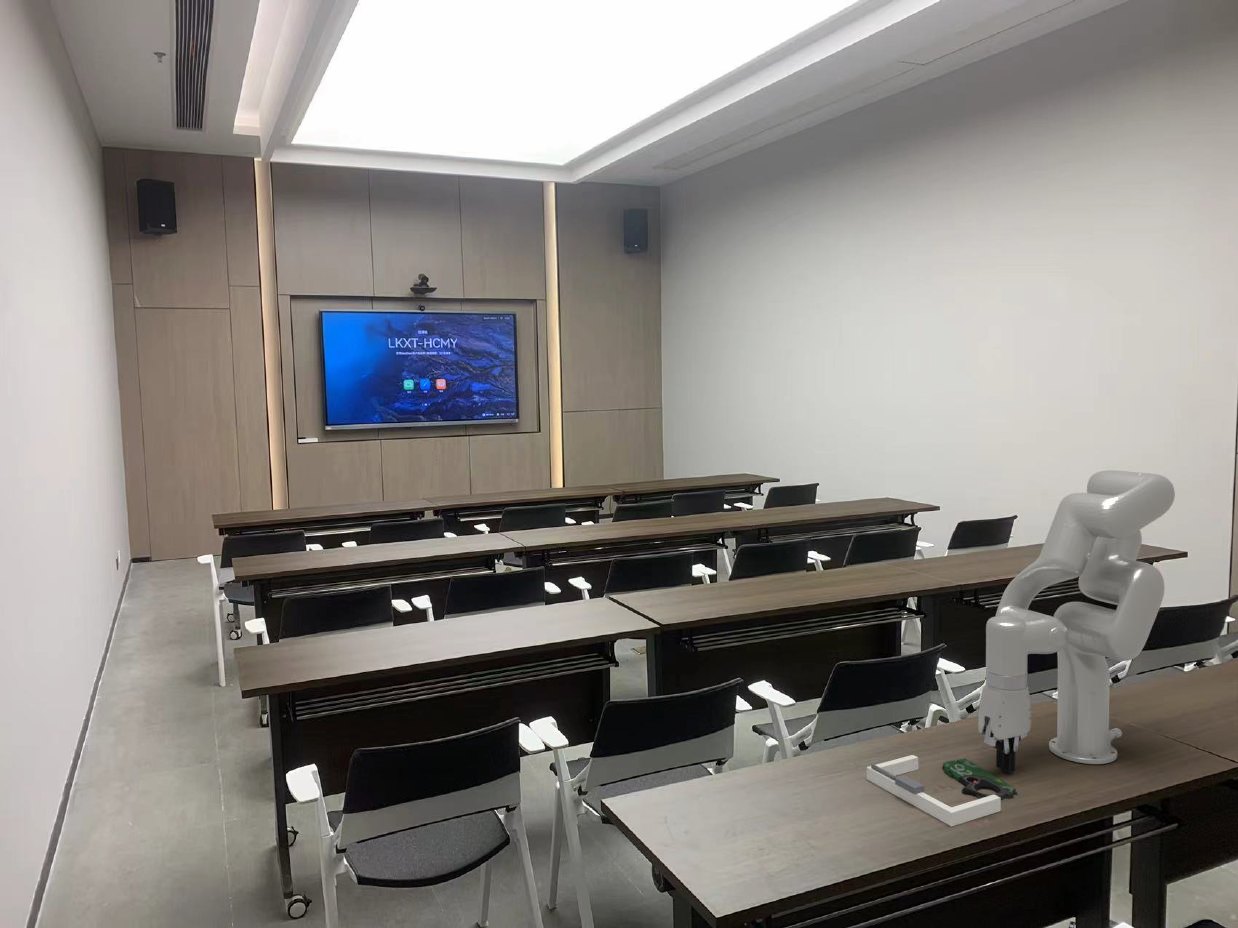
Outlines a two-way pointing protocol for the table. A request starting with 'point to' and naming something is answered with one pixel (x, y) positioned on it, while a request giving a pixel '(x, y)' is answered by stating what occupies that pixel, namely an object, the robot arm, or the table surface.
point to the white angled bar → (914, 794)
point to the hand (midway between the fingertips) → (1005, 769)
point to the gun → (977, 779)
